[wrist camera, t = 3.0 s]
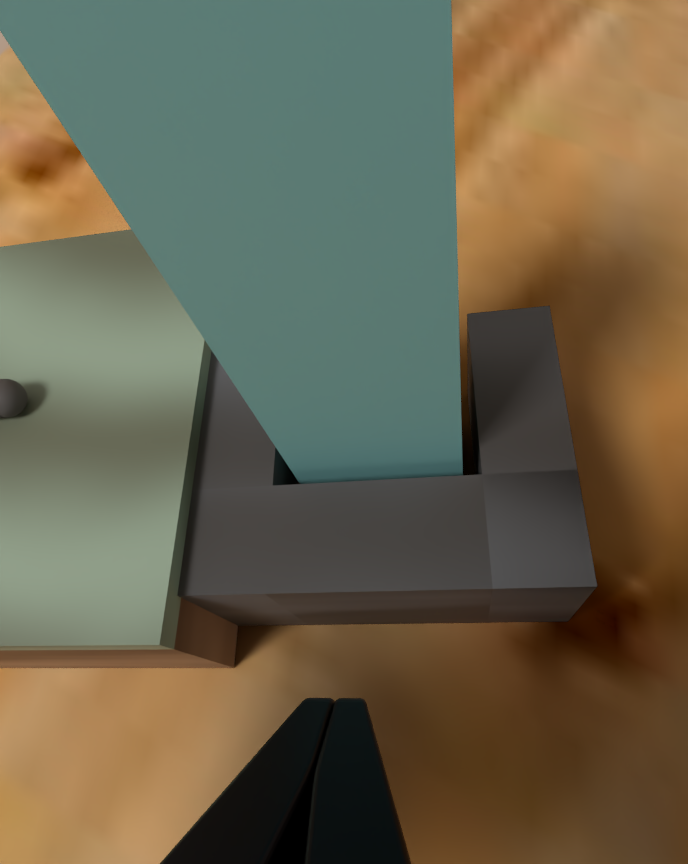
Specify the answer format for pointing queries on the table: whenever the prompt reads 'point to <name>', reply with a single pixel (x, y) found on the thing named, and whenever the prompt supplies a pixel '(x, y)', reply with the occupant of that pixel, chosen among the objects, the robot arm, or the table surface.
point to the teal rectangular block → (285, 201)
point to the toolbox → (246, 485)
